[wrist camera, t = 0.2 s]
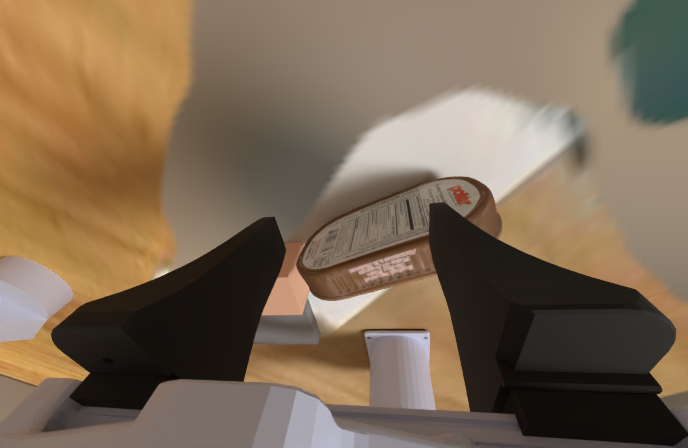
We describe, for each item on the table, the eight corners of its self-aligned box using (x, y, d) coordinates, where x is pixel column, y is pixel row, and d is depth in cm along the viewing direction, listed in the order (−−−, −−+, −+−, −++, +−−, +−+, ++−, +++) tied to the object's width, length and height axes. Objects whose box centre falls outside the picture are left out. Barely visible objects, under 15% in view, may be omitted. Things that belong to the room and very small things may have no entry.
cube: (313, 276, 28) (302, 314, 24) (271, 278, 29) (254, 315, 25) (301, 241, 26) (287, 277, 22) (256, 244, 27) (234, 279, 22)
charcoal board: (320, 333, 34) (318, 344, 33) (202, 333, 37) (196, 343, 36) (303, 287, 29) (300, 297, 28) (170, 292, 33) (162, 301, 31)
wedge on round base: (56, 319, 40) (81, 287, 34) (4, 362, 34) (24, 332, 29) (-10, 285, 37) (6, 244, 31) (-80, 327, 31) (-75, 286, 25)
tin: (321, 246, 26) (300, 318, 19) (304, 223, 24) (275, 291, 17) (478, 189, 21) (529, 259, 14) (468, 155, 19) (521, 214, 12)
